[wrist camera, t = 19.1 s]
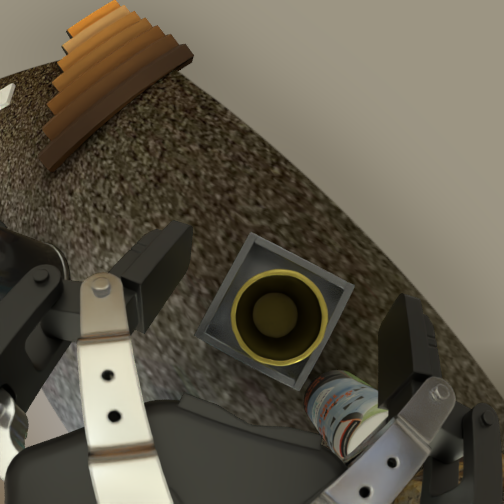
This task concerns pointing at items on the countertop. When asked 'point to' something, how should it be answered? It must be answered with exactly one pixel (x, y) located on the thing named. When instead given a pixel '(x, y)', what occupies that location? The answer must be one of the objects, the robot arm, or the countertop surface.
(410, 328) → the robot arm
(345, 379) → the beverage can
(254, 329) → the vase
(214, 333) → the gray open box
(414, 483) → the rock
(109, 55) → the pan flute
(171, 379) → the countertop surface
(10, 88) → the eraser
